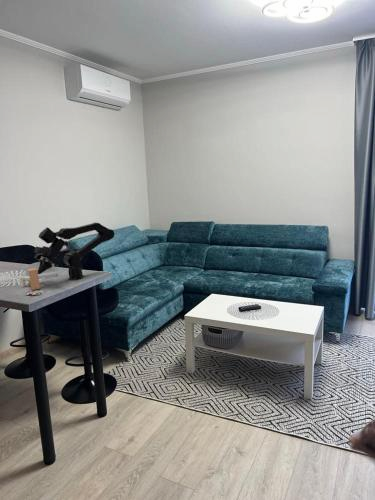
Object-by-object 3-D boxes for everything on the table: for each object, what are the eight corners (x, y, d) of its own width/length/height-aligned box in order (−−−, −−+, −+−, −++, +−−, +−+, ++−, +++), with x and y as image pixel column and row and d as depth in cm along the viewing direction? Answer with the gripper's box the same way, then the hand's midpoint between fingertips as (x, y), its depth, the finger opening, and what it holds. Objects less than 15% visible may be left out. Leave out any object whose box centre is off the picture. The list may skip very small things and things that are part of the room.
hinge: (25, 281, 204) (23, 263, 205) (26, 282, 209) (23, 264, 210) (57, 276, 210) (54, 259, 212) (57, 277, 215) (54, 260, 216)
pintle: (42, 282, 198) (41, 275, 197) (35, 286, 192) (34, 278, 191) (32, 282, 199) (31, 275, 198) (25, 286, 193) (24, 278, 193)
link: (28, 283, 197) (26, 265, 195) (38, 282, 199) (35, 264, 197) (30, 290, 184) (27, 271, 182) (41, 288, 186) (38, 269, 184)
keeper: (33, 285, 193) (32, 276, 192) (31, 286, 191) (29, 277, 190) (22, 285, 195) (21, 276, 194) (20, 286, 193) (18, 277, 192)
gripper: (34, 238, 195) (17, 263, 189) (51, 241, 182) (33, 267, 176) (51, 250, 202) (34, 274, 196) (68, 253, 189) (51, 279, 184)
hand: (38, 273), depth 188 cm, fingers closed
